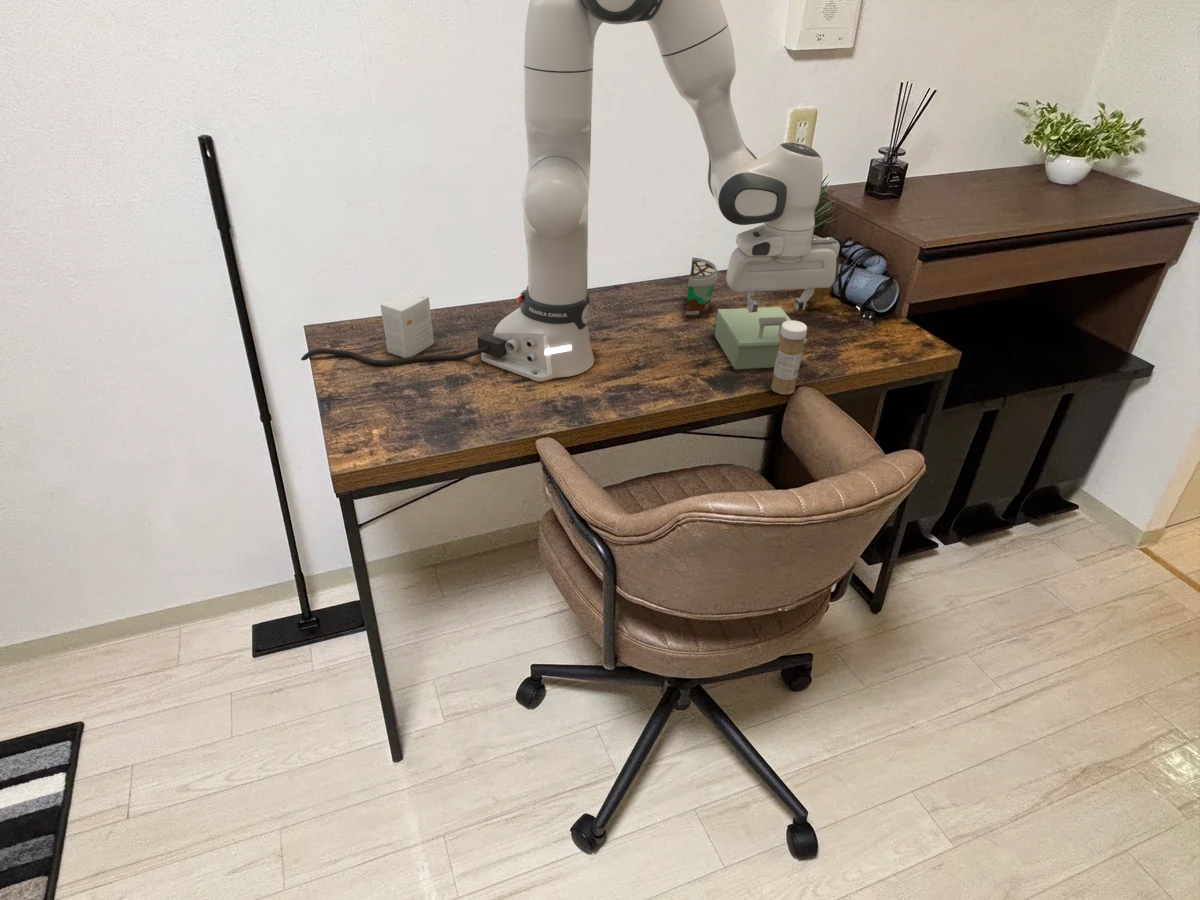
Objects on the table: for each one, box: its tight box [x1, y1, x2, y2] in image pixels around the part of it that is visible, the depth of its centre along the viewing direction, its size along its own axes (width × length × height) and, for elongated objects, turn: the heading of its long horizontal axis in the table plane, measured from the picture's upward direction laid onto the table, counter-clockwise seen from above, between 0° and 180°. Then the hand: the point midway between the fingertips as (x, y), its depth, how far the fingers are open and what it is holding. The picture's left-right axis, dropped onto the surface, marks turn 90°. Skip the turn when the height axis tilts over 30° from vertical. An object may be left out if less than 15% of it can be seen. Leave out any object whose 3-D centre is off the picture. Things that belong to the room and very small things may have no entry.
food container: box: [684, 257, 719, 319], centre depth 171 cm, size 12×6×10 cm, turn 171°
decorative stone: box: [797, 257, 840, 309], centre depth 172 cm, size 10×6×15 cm, turn 104°
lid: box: [717, 306, 808, 347], centre depth 154 cm, size 15×14×5 cm
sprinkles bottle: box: [770, 319, 808, 396], centre depth 142 cm, size 5×5×13 cm
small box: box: [380, 290, 435, 358], centre depth 152 cm, size 8×6×10 cm
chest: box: [714, 312, 806, 370], centre depth 157 cm, size 15×14×5 cm
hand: (775, 309), depth 147 cm, fingers open, 8 cm apart
